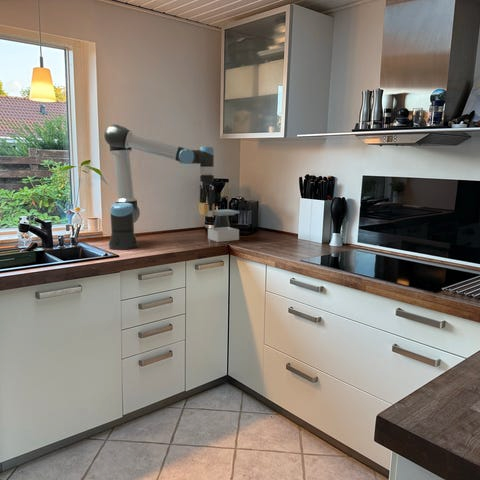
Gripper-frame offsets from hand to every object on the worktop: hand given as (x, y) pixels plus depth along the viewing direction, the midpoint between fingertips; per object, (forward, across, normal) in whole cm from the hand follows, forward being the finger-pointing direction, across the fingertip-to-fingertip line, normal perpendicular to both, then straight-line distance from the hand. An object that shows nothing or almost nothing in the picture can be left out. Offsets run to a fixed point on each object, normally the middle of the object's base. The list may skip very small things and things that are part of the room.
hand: (207, 215), depth 249 cm
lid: (0, 0, -7) cm, 7 cm away
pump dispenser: (+16, +16, -19) cm, 29 cm away
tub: (+15, 0, -11) cm, 19 cm away
